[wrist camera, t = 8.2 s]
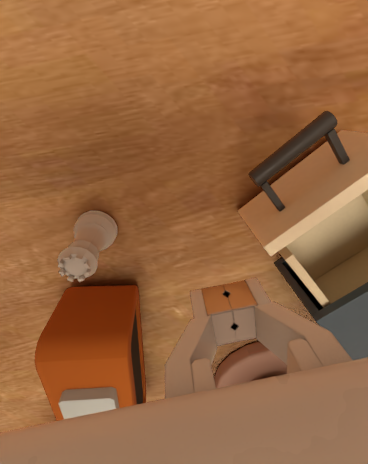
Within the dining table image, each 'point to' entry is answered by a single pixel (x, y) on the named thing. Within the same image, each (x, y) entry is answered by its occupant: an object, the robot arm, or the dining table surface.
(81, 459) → the robot arm
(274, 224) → the drawer
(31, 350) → the dining table surface
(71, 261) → the rook chess piece
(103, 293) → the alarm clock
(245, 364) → the hourglass
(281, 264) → the cabinet
